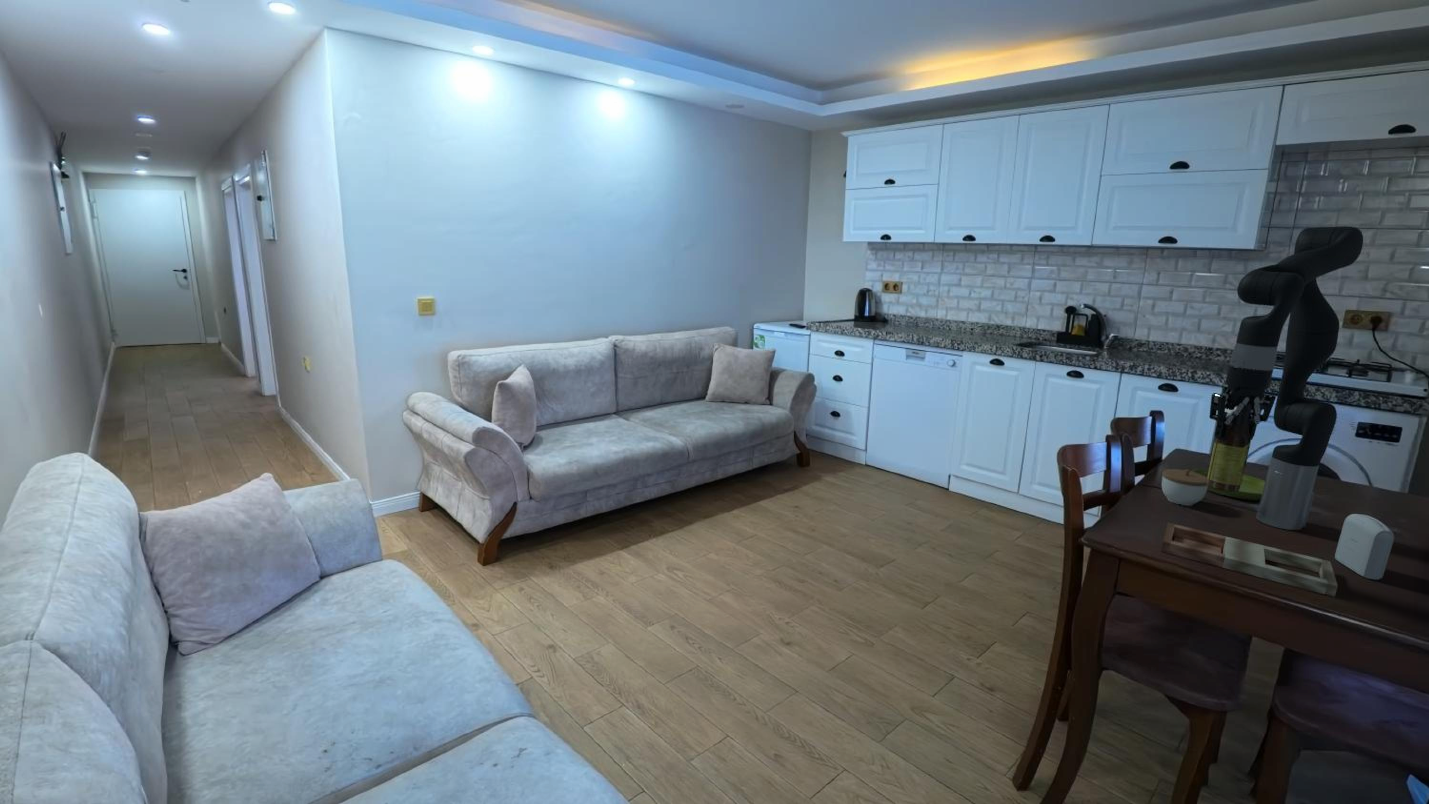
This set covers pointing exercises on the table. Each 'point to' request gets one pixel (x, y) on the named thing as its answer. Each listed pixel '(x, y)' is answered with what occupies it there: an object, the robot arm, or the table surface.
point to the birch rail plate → (1249, 558)
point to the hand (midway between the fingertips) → (1233, 439)
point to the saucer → (1248, 488)
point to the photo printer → (1364, 545)
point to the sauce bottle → (1231, 455)
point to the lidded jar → (1183, 486)
